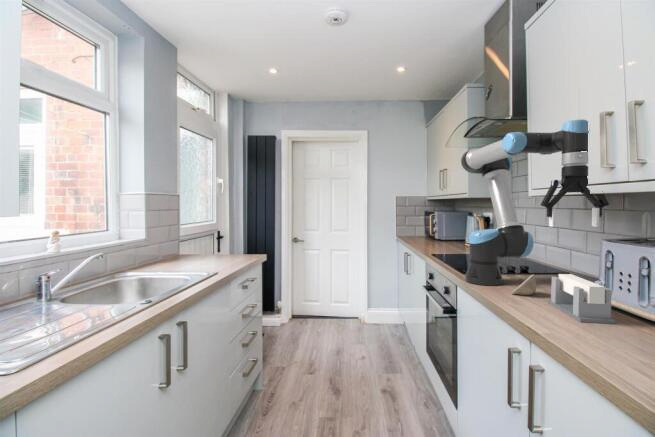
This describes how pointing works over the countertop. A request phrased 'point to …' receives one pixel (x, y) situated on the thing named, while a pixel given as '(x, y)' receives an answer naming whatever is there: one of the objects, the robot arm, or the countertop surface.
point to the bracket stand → (580, 304)
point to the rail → (591, 290)
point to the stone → (526, 287)
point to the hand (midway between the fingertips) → (573, 226)
